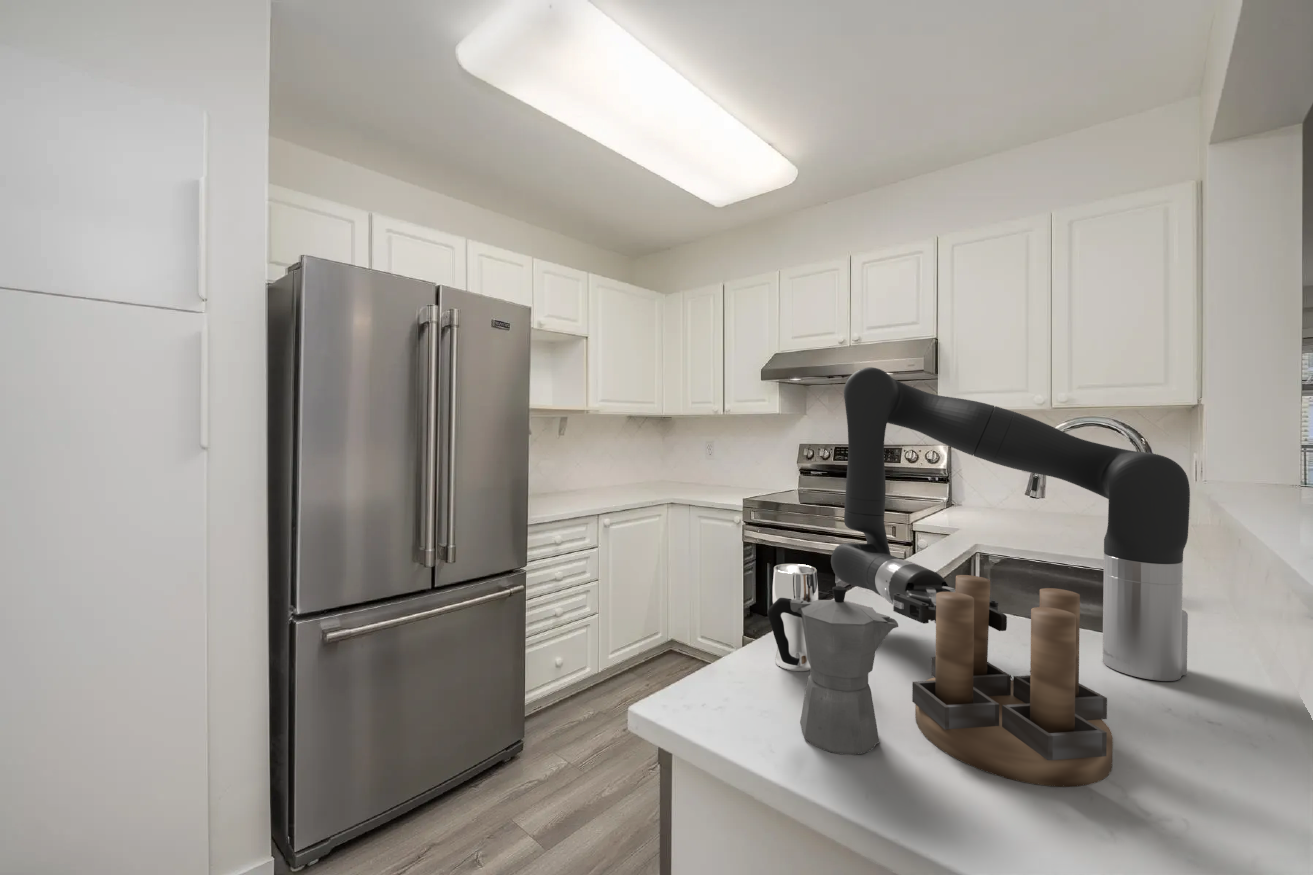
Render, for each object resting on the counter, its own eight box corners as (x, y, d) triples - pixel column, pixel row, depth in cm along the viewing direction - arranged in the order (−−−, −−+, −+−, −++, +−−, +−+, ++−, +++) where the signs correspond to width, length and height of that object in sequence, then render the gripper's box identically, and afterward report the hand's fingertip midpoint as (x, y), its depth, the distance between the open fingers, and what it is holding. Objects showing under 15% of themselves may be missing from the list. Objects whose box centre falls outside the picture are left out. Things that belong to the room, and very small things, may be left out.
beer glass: (819, 674, 85) (819, 575, 85) (772, 670, 87) (772, 572, 87) (816, 656, 92) (816, 564, 92) (772, 653, 94) (772, 562, 93)
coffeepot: (901, 729, 70) (902, 584, 70) (892, 770, 62) (893, 605, 61) (778, 701, 77) (778, 569, 77) (755, 734, 69) (756, 586, 69)
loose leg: (973, 677, 78) (976, 574, 78) (993, 690, 74) (997, 582, 74) (945, 677, 77) (949, 574, 77) (964, 690, 73) (968, 582, 73)
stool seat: (1020, 691, 80) (1022, 571, 80) (1164, 780, 60) (1166, 619, 60) (884, 699, 78) (885, 575, 77) (986, 793, 58) (987, 627, 57)
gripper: (866, 564, 89) (931, 597, 72) (952, 562, 90) (1036, 593, 73) (866, 612, 89) (931, 656, 72) (952, 609, 90) (1035, 651, 73)
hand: (983, 624), depth 73 cm, fingers open, 5 cm apart
